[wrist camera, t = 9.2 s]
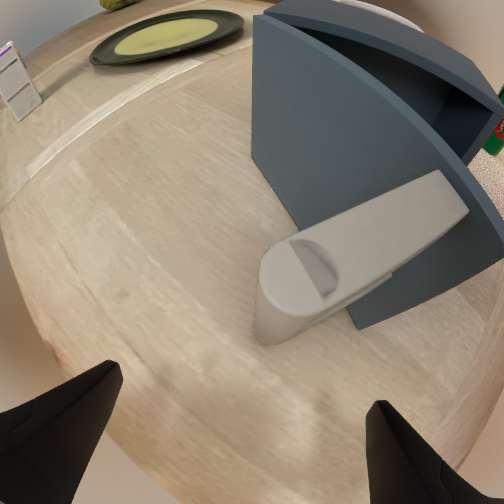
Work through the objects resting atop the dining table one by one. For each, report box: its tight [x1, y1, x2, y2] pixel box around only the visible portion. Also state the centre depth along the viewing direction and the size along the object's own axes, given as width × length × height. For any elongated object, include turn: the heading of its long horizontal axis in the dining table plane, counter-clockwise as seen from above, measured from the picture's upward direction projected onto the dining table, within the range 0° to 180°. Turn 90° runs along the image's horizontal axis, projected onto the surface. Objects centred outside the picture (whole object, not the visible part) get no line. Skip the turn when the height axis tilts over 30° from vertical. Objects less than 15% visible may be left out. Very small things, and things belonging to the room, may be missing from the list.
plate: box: [89, 10, 244, 65], centre depth 34 cm, size 28×28×2 cm
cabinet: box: [263, 0, 504, 167], centre depth 17 cm, size 9×16×13 cm, turn 69°
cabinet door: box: [251, 14, 504, 345], centre depth 13 cm, size 7×16×12 cm, turn 26°
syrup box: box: [0, 41, 42, 122], centre depth 22 cm, size 6×6×14 cm
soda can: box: [482, 85, 504, 155], centre depth 20 cm, size 5×5×12 cm
